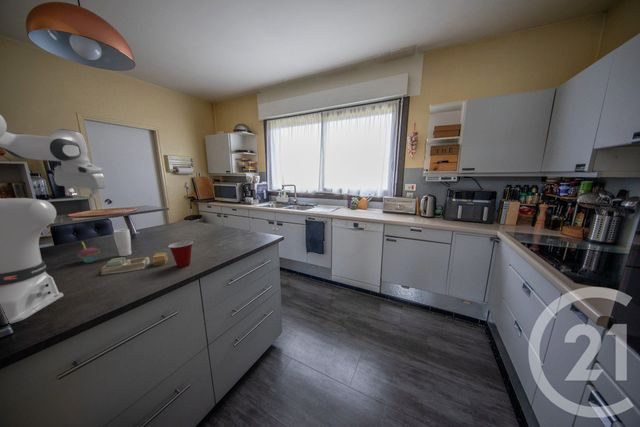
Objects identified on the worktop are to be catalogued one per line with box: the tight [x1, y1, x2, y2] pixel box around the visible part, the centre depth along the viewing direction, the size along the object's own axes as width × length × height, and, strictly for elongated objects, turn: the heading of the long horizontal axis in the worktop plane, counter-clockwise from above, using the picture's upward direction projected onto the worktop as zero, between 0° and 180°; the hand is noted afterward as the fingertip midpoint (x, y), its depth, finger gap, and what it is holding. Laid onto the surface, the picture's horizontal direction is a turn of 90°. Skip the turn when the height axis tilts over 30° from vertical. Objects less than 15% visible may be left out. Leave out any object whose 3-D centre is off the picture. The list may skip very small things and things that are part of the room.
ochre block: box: [152, 252, 169, 267], centre depth 111 cm, size 5×5×5 cm
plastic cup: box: [167, 240, 194, 268], centre depth 109 cm, size 11×11×12 cm
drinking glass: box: [112, 228, 132, 257], centre depth 121 cm, size 7×7×15 cm
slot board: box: [100, 256, 151, 276], centre depth 106 cm, size 10×16×5 cm, turn 114°
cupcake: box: [76, 241, 101, 263], centre depth 113 cm, size 9×8×12 cm
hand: (83, 196), depth 100 cm, fingers open, 8 cm apart
